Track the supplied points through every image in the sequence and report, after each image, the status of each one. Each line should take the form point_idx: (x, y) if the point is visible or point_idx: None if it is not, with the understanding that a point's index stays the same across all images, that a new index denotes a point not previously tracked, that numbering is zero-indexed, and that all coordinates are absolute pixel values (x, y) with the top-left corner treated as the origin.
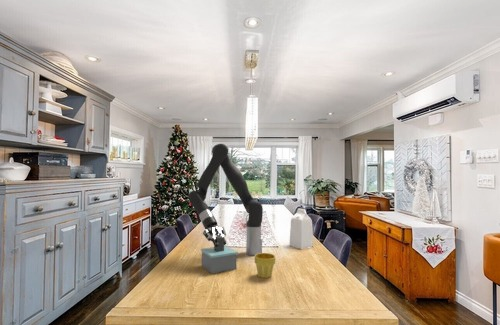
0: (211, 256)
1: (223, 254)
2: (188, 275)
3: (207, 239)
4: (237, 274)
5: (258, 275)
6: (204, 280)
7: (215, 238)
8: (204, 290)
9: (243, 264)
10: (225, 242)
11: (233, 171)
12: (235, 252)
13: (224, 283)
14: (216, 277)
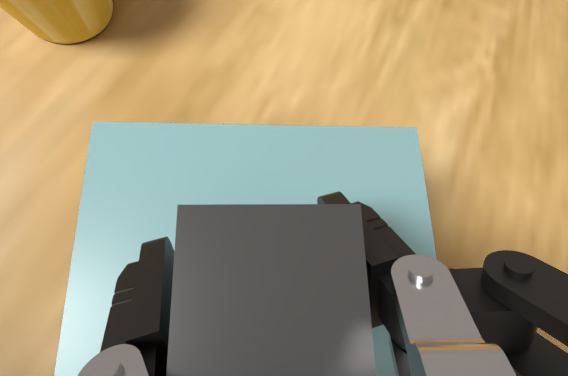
0: (414, 132)
1: (281, 127)
2: (502, 235)
3: (543, 349)
4: (207, 101)
5: (111, 13)
6: (425, 114)
7: (362, 318)
8: (452, 12)
9: (39, 259)
10: (161, 240)
11: None
12: (126, 123)
13: (337, 31)
14: (347, 121)
